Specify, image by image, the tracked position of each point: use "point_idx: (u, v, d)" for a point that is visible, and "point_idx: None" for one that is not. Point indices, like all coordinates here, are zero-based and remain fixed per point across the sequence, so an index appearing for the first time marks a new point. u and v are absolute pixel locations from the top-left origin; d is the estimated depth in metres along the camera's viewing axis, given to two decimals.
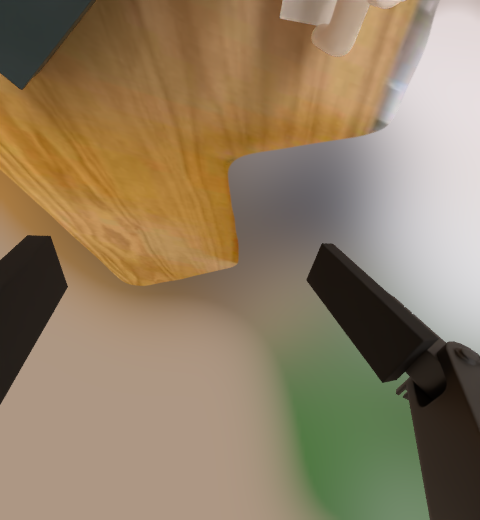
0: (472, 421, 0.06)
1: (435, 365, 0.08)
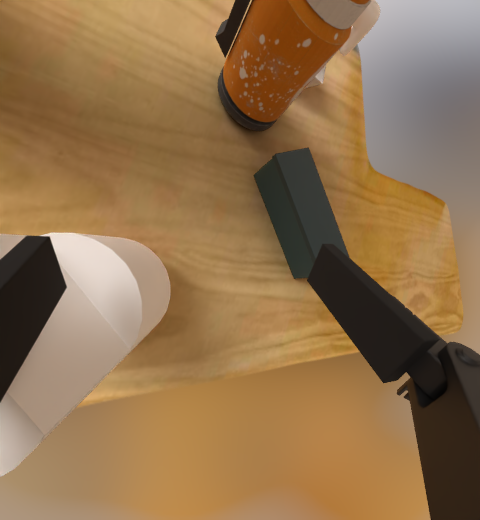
0: (473, 422, 0.06)
1: (436, 365, 0.08)
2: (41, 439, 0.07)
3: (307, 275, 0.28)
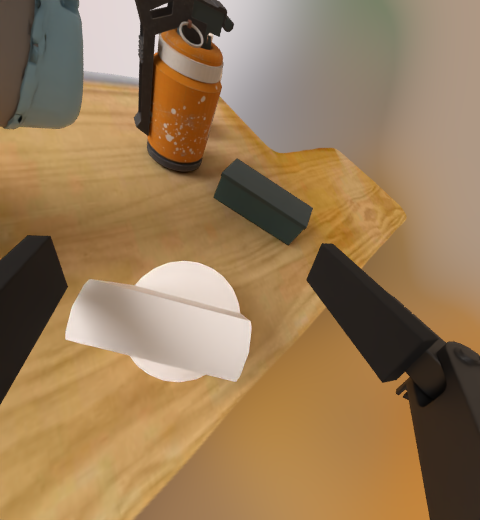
0: (472, 421, 0.06)
1: (435, 365, 0.08)
2: (250, 325, 0.11)
3: (295, 234, 0.35)
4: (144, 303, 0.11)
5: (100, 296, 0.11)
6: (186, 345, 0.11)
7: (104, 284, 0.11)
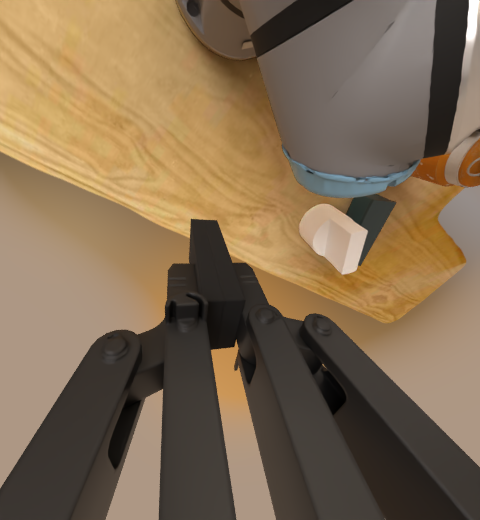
0: (275, 397, 0.05)
1: (247, 337, 0.07)
2: (355, 270, 0.41)
3: None
4: (360, 246, 0.38)
5: (362, 235, 0.36)
6: (350, 260, 0.39)
7: (366, 235, 0.36)
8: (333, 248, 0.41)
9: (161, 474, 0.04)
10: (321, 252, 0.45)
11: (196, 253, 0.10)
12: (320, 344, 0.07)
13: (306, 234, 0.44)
